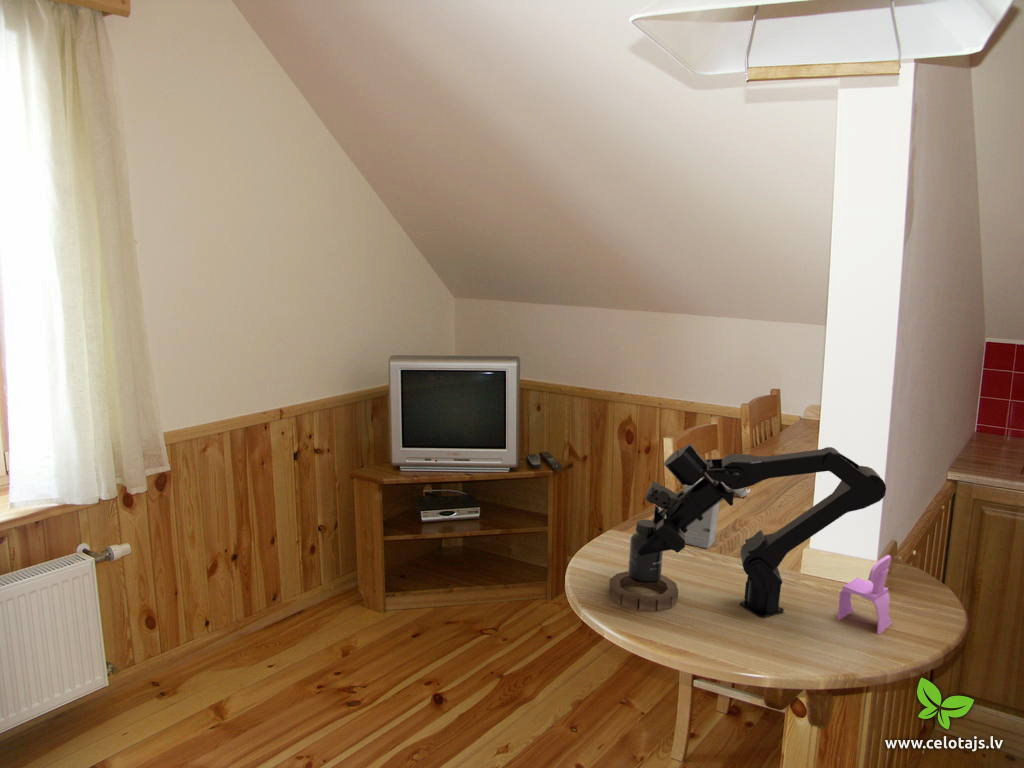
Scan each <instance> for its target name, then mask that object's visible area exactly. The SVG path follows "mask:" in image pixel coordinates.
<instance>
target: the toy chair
mask: <svg viewBox="0 0 1024 768" xmlns="http://www.w3.org/2000/svg"><path fill="white" fill-rule="evenodd" d="M891 560H892V556H891V555H890V554H887V555H885V556H884V557H882V558H881V559H879V560H878V561H877V562H876V563H875V564H873V566H871V567H872V568H871V570H870V572H869V576H868V578H867V580H868V581H867V580H865V579H863V578H860V577H856V578H854V579H853V580H851V581H849V582H848V583H845V584H843V586H842V590H840V592H839V597H838V598H839V600H838V614H837V620H838V621H841V620H842V619H844V618H845V617H847V616H848V615H849V613H850V612H851V613H853V612H854V609H853V605H852V599H851V597H852V595H857V596H859V597H862V598H863V599H866V600H869V601H870V602H872V603H873V604H874V606H875V610H876V611H875V612H876V614H877V615H876V616H877V630H876V635H877V634H878V635H877V636H880V635H881V634H883V633H884V632H885V631H886V630H885V629H886V628H887V627H889V626H890V625H891V624H892V625H893V623H892V620H891V616H890V600H891V599H890V597H891V596H890V593H889V587H886V586H885V584H886V581H887V578H888V573H889V571H890V568H889V567H890V565H891V562H892V561H891ZM852 611H853V612H852ZM851 613H850V614H851ZM847 614H848V615H847ZM846 615H847V616H846ZM844 616H845V617H844ZM843 617H844V618H843ZM840 619H841V620H840ZM889 628H890V627H889ZM884 630H885V631H884ZM883 631H884V632H883ZM882 632H883V633H882ZM880 633H881V634H880ZM879 634H880V635H879Z"/></svg>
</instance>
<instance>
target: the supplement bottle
mask: <svg viewBox="0 0 1024 768" xmlns="http://www.w3.org/2000/svg"><path fill="white" fill-rule="evenodd" d="M655 524H656V525H657V524H658V522H656V521H653V520H652V519H639V520H637V521H636V524H635V525H636V527H635V533H633V534H632V535H631V537H630V543H629V556H628V557H629V558H628V574H629V577H630V578H631V579H632V580H634V581H636V582H640V583H655V582H657V581H659V580H660V578H661V575H662V568H663V567H662V565H663V553H664V551H661V552H656V553H651V554H647V555H642V556H641V555H640V554H639V553H638V550H639V549H640V548H641V547H642V546H643V545H644V544H645V543H646V541H647V540H648V539H649V538H650V537H651V536H652V535H653V534H654V526H655Z"/></svg>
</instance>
